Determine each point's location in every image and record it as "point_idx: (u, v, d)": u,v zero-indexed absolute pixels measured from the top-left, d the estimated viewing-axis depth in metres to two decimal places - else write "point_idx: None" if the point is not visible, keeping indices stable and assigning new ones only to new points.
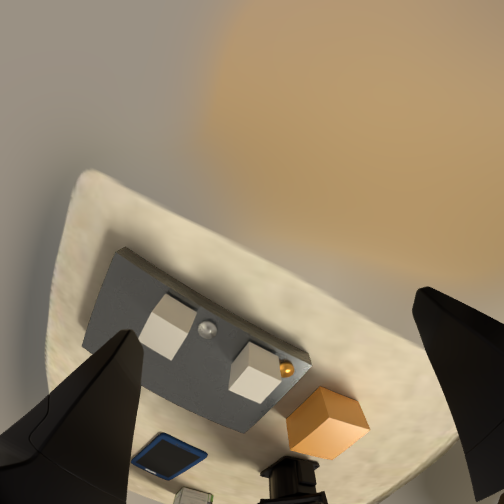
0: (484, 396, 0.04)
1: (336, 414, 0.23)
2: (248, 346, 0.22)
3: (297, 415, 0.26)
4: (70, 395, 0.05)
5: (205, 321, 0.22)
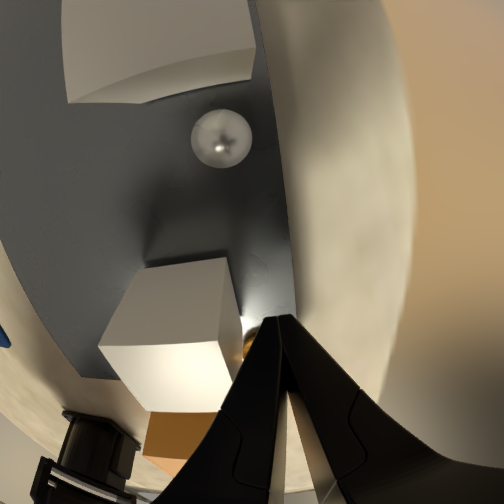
0: None
1: None
2: (221, 270, 0.08)
3: None
4: (261, 401, 0.04)
5: (242, 116, 0.07)
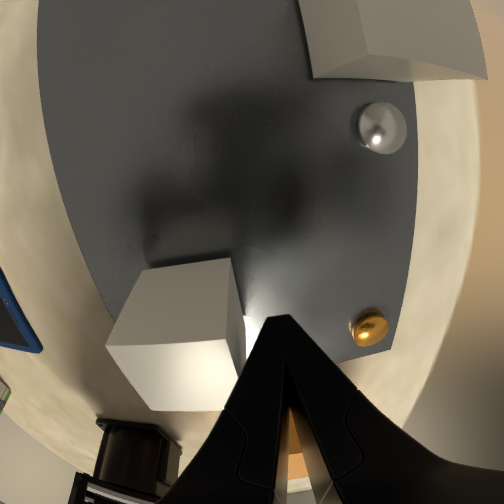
0: None
1: None
2: (225, 270, 0.08)
3: None
4: (265, 401, 0.04)
5: (397, 111, 0.07)
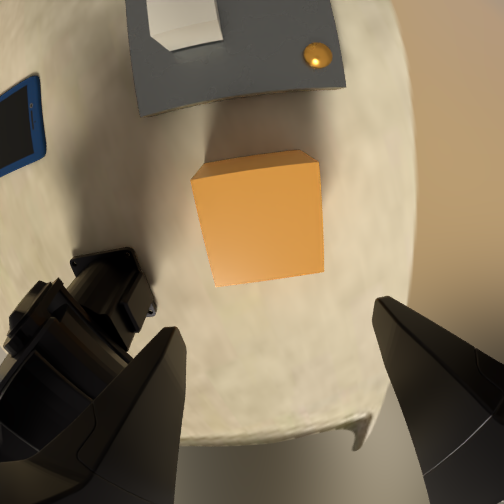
0: (440, 419, 0.04)
1: None
2: None
3: (233, 160, 0.16)
4: (120, 402, 0.05)
5: None
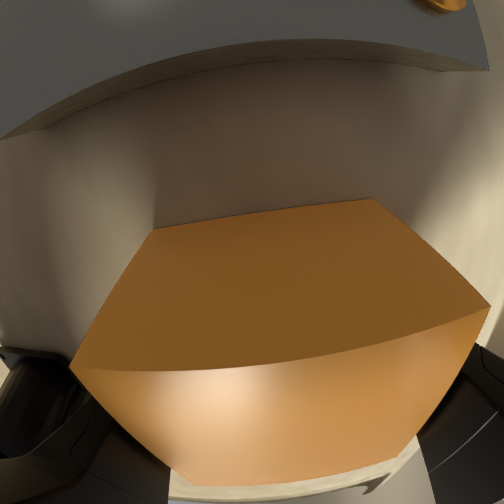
0: (446, 417, 0.04)
1: None
2: None
3: (215, 234, 0.06)
4: None
5: None
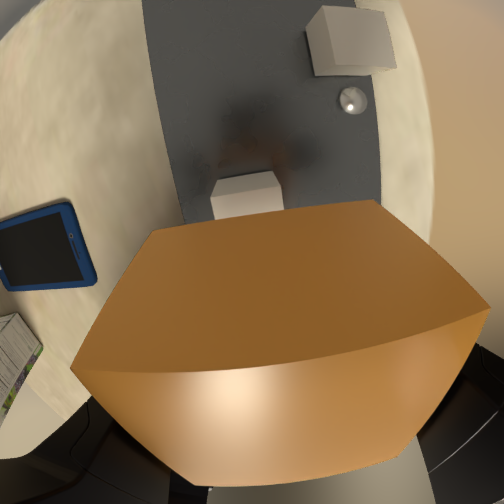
0: (446, 416, 0.04)
1: None
2: (271, 173, 0.14)
3: (216, 235, 0.06)
4: None
5: (361, 92, 0.12)
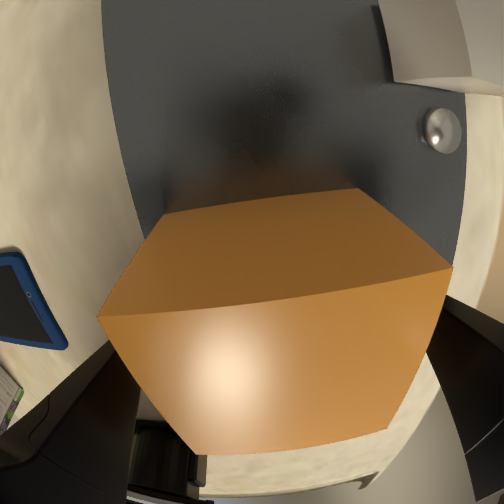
0: (483, 396, 0.04)
1: None
2: None
3: (220, 216, 0.07)
4: (70, 395, 0.05)
5: (454, 117, 0.07)
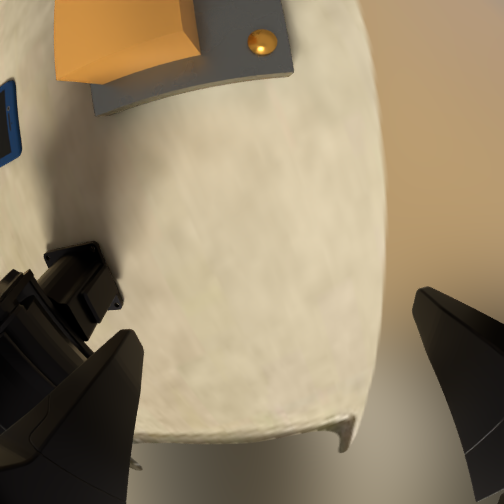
0: (484, 396, 0.04)
1: None
2: None
3: None
4: (70, 395, 0.05)
5: None
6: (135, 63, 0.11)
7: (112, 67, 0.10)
